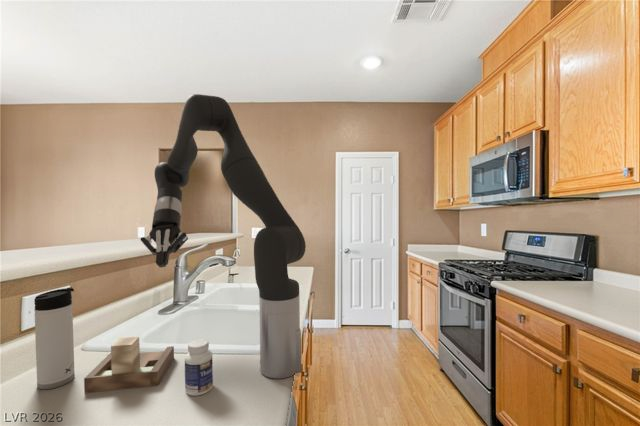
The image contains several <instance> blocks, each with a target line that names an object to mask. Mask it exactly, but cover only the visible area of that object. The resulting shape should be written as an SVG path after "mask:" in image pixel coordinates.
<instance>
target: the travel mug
mask: <svg viewBox="0 0 640 426" xmlns="http://www.w3.org/2000/svg"><path fill="white" fill-rule="evenodd" d="M72 292H75V290H74V288H73V287H72V286H71V287H67V288H61V289H60V288H59V289H54V290H50V291H46V292H43V293H40V294H39V295H36V296H34V297H35V298H34V302H33V303H34V331H35V334H34V335H35V361H36V362H35V363H36V364H35V365H36V366H35V367H36V385H37V386H36V387H37V389H39V390H52V389H55V388H60V387H62V386H64V385H66V384H68V383H70V382H72V380H73V379H74V378H75V376H76V375H75V353H74V352H75V350H74V349H75V346H74V320H73V319H74V316H73V300H72V299H73V297H72Z"/></svg>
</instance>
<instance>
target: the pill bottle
mask: <svg viewBox="0 0 640 426" xmlns="http://www.w3.org/2000/svg"><path fill="white" fill-rule="evenodd" d="M209 343H210V342H209V340H208V339H206V338H198V339H193V340H191V341H189V342H188V344H187V351H188V352H187V354H186V355H185V357H184V387H185V388H184V389H185V393H186V394H187V395H189V396H192V397H193V396H195V397H196V396H202V395H204V394H207V393H208V392H210V391H211V390H212V388H213V386H214V385H213V383H214V378H213V377H214V375H213V373H214V372H213V369H214V367H213V351H211V349H209V347H210V346H209Z"/></svg>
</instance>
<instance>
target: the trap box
mask: <svg viewBox="0 0 640 426" xmlns="http://www.w3.org/2000/svg"><path fill="white" fill-rule="evenodd" d="M174 347H175V346H173V345H172V346H167V347H166V348H165V349H164V350H161V351H160V350H159V351H147V352H140V368H139V370H138V371H137V372H134V373H123V374H113V375H112V367H111V352H110V353H109V354H108V355H107V356H106V357H104V359H103V360H101V361H100V362H99V363H98V364H97V365H96V366H95V367H94V368H93V369H92V370H91V371H90V372H88V374H87V375H86V376H85V377H84V378H83V383H84V384H83V388H84V393H85V394H86V393H97V392H105V391H116V390H124V389H125V390H126V389H134V388H145V387H154V386H155V387H157V386H159V384H160V383H161V381H162V379H163V377H164V375H165V374H166V372H167V370H168V369H169V367H170V366H171V364H172V362H173V361H174V359H175V349H174Z"/></svg>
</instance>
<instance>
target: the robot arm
mask: <svg viewBox="0 0 640 426" xmlns="http://www.w3.org/2000/svg"><path fill="white" fill-rule="evenodd" d="M179 121H180V122H179V125H178V130H177V136H176V139H175V142H174V144H173V147H172V149H171V151H170V153H169V155H168V156H167V162H165V161H162V162H159V163H158V164H157V165H156V166H155V168H154V180H155V183H156V188H157V189H156V190H157V197H156V202H155V206H154V210H153V217H152V224H151V230H150V231H149V234H148V235H147V236H146V237H144V236H143V237H141V238H140V241H141V243H142V244H143V245H144V246H145V248H147V249H148V250H149V252H150V253H151V254H152V255H153V256H156V257H155V264H156V265H157V266H158V267H159V268H160V269H161V268H166V266H168V264H169V260H170V259H169V258H170V255H171V254H173V253H174V254H175V253H177V252H178V250H180V249H181V247H183V245H184V244H185V243H186V242H187V241H188V239H189V236H188V234H187V233H186V232H182V230H181V221H182V220H181V219H182V216H183V215H182V213H183V212H182V210H183V209H182V200H183V191H182V189H181V188H184V187H186V186H187V185H188V183H189V180H190V170H191V167H192V165H194V162H195V160H196V159H197V156H198V145H197V142H196V141H195V138H194V135H195V134H196V133H197V132H198V131H202V132H217V133H218V134H219V136H220V137H221V139H222V141H223V143H224V149H223V153H222V157H221V162H220V170H221V173H222V176H223V178H224V180H225V182H226V183H227V185H228V187H229V189H230V191H231V193H232V194H233V195H234V196H235V197H236V198H237V199H238V200H239V202H241V203H242V204H243V205H245V206H246V207H247V208H248V209H250V210H251V212H253V213H254V214H255V215H257V217H258V218H259V219H260V220H261V222H262V223H263V225H264V226H265V227H263V228H261V229H260V230H258V232H257V234H256V235H255V239H254V242H253V261H254V273H255V274H254V275H255V277H254V278H255V282H256V283H255V284H256V285H257V289H258V297H259V299H258V300H259V301H258V302H259V303H258V304H259V365H260V367H259V368H260V369H259V370H260V373H261V374H262V375H263V376H265V377H267V378H270V379H285V378H289V377H292V376H294V375H297V374H300V373H301V374H302V331H301V326H300V324H301V323H300V321H301V320H300V319H301V318H300V314H301V312H300V283H299V282H298V281H297V280H295V279H293V278H290V277H289V272H288V265H290V264H294V263H296V262H299V261H301V259H303V257H304V255H305V253H306V246H307V245H306V240H305V237H304V234H303V232H302V231H301V229H300V228H299V226H298V225H297V223H296V222H295V221H294V220H293V218H292V217H291V215H290V213H288V211H287V210H286V209H285V207H284V206H283V204H282V202H281V201H280V199H279V197H278V195H277V193H276V192H275V190H274V188H273V187H272V185H271V183H270V182H269V180H268V178H267V177H266V175H265V172H264V171H263V168H261V167H262V166H260V164H259V162H258V160H257V159H256V157H255V155H254V154H253V152H252V150H251V149H250V147H249V145H248V143H247V141H246V139H245V137H244V135H243V134H242V131H241V128H240V126H239V124H238V121H237V119H236V117H235V114H234V113H233V111H232V108H231V106H230V103H228V101H227V100H226V99H225V98H222V97H220V96H216V95H209V94H208V95H206V94H199V93H196V94H191V95H189V96H188V97H187V99H186V101H185V103H184V105H183V109H182V113H181V117H180V120H179ZM153 241H154V243H155V245H156V248H155V247H154V246H153V245H152V242H153Z"/></svg>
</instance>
